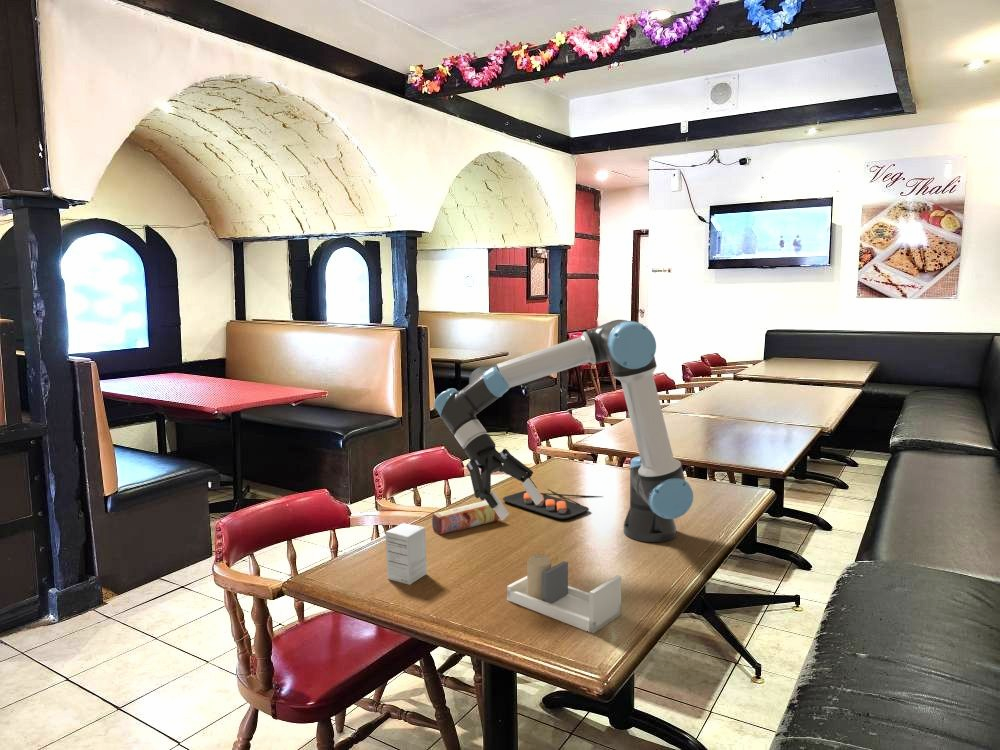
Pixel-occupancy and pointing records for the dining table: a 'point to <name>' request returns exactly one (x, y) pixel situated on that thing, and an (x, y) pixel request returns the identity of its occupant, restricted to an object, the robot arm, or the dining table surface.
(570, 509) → the sushi plate
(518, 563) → the dining table surface
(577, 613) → the pusher lane
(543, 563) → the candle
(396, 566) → the supplement box
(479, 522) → the snack package
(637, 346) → the robot arm
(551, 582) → the plate
